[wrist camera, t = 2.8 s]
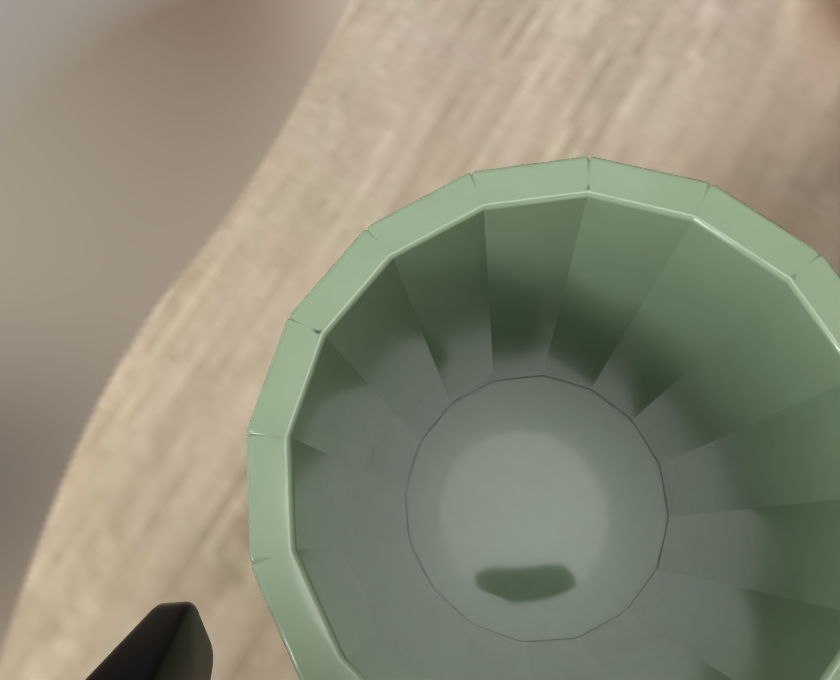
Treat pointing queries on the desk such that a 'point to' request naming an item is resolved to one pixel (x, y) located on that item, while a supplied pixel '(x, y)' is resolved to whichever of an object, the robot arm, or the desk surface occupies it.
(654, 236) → the pencil cup
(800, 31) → the desk surface
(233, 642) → the desk surface
